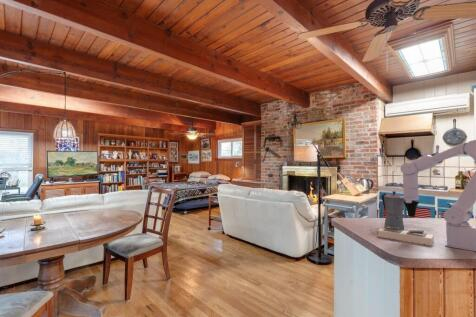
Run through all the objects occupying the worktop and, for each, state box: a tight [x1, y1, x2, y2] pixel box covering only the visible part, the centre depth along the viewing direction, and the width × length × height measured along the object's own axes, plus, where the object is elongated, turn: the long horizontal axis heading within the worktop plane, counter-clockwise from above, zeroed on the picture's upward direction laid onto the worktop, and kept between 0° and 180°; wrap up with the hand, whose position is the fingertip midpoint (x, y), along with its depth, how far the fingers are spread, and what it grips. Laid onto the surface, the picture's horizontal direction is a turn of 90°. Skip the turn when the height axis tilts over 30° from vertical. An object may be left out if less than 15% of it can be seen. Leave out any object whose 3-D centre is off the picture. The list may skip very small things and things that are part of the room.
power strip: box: [377, 227, 435, 247], centre depth 109 cm, size 20×7×3 cm, turn 46°
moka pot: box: [381, 190, 406, 231], centre depth 128 cm, size 10×15×20 cm, turn 12°
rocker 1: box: [386, 227, 400, 230], centre depth 112 cm, size 5×3×1 cm, turn 46°
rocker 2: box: [408, 229, 425, 233], centre depth 106 cm, size 5×3×1 cm, turn 46°
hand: (411, 216), depth 113 cm, fingers closed
